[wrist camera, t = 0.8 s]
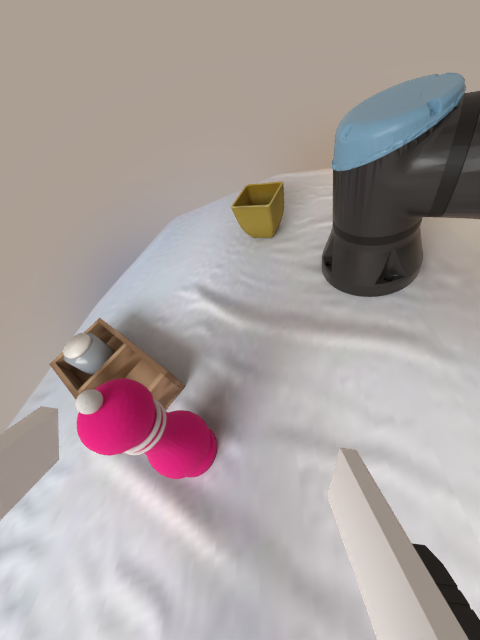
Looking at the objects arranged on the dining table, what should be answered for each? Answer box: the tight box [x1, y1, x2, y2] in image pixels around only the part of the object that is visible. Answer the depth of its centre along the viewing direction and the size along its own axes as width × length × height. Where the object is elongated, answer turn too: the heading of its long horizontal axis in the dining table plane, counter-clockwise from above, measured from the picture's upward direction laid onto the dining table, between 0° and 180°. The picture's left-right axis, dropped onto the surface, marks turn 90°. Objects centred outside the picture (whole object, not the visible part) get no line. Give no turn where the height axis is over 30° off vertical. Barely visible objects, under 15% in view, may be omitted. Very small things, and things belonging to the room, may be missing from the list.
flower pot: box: [231, 182, 284, 238], centre depth 54 cm, size 9×9×9 cm
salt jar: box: [63, 333, 116, 376], centre depth 42 cm, size 6×6×7 cm
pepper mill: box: [75, 378, 217, 479], centre depth 25 cm, size 7×7×20 cm
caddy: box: [50, 318, 185, 410], centre depth 41 cm, size 11×21×6 cm, turn 52°
